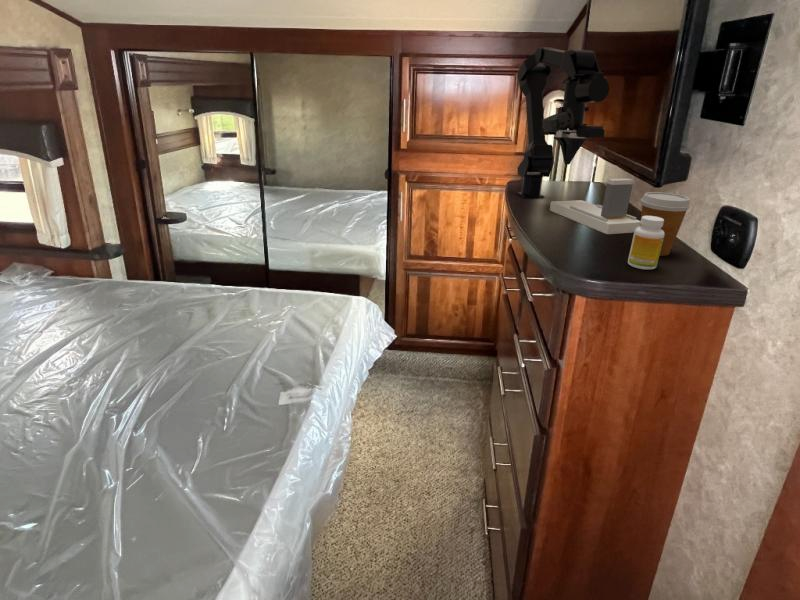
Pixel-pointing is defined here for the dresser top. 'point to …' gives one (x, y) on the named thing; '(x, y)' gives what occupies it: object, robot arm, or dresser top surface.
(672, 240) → the disposable coffee cup
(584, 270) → the dresser top surface
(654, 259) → the supplement bottle
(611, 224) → the white slider track base
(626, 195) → the fader tab
